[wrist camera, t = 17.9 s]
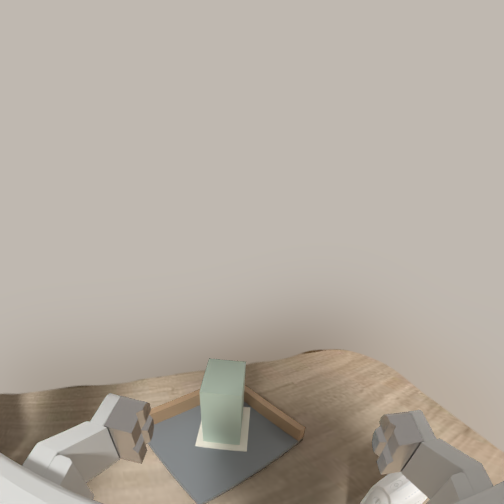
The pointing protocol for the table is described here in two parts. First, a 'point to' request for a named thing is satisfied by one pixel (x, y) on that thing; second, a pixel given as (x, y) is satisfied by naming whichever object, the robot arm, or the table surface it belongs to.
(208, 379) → the sage block
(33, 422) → the table surface
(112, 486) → the table surface
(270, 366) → the table surface
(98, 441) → the robot arm
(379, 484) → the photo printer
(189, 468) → the tray
